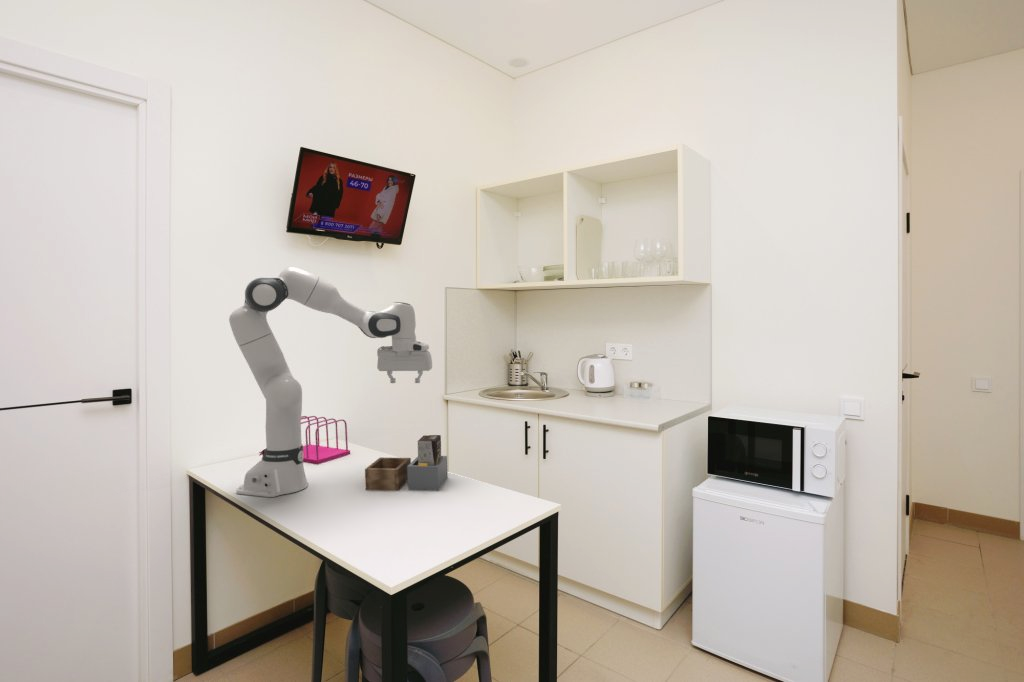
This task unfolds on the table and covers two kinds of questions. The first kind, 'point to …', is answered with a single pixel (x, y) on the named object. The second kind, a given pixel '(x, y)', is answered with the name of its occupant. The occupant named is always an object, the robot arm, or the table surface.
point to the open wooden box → (387, 474)
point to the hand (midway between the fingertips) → (405, 383)
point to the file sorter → (322, 453)
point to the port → (427, 475)
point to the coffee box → (429, 449)
